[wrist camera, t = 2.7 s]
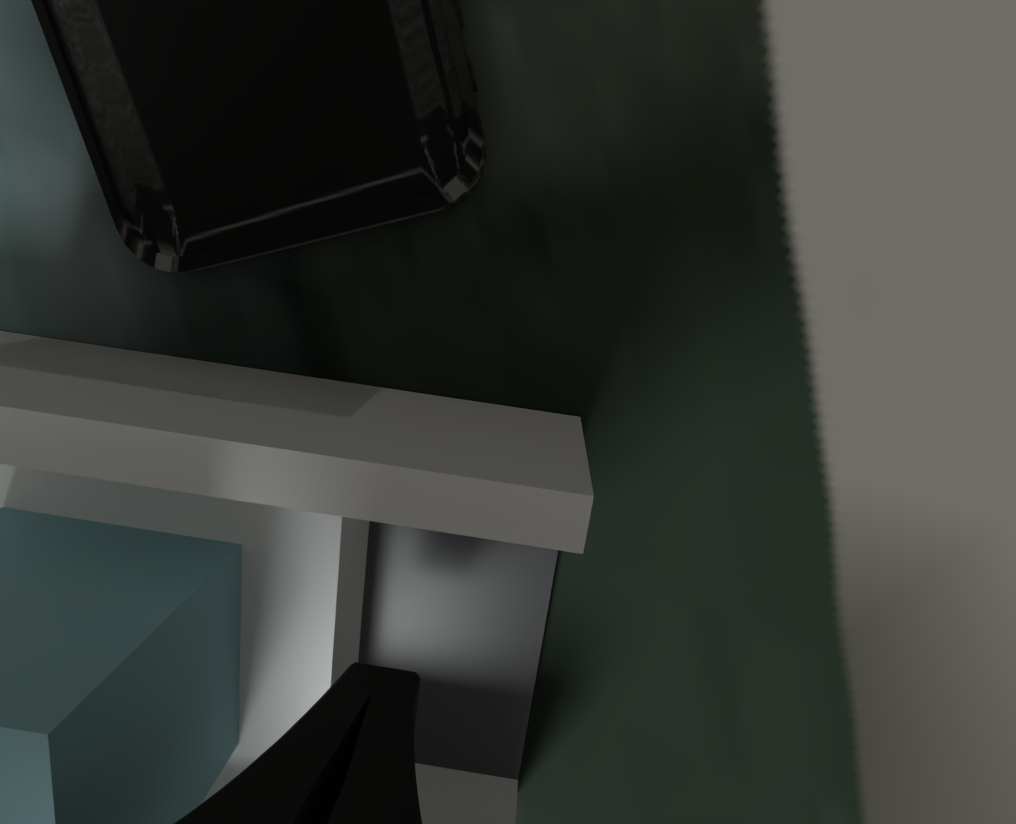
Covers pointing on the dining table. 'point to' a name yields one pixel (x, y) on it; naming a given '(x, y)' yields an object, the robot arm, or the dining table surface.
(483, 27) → the dining table surface
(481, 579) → the grey channel
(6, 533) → the teal block
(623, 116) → the dining table surface
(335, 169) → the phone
